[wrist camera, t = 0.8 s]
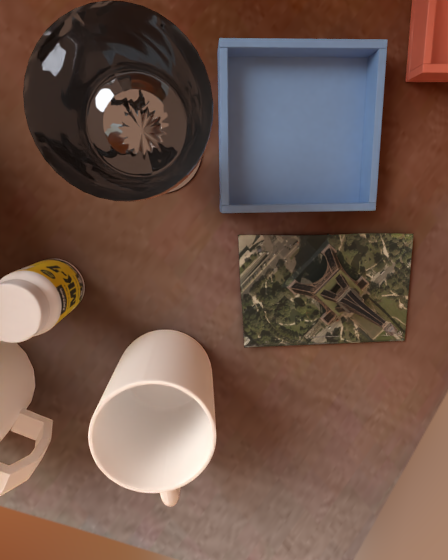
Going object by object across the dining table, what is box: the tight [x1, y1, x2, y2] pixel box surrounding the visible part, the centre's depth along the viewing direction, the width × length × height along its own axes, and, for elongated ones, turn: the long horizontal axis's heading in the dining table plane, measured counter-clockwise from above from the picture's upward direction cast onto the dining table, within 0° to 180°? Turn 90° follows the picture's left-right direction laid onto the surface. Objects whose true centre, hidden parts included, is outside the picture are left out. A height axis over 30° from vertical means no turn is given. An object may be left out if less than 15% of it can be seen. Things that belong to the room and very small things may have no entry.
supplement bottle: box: [0, 259, 85, 343], centre depth 29 cm, size 5×5×8 cm
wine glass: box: [23, 1, 213, 201], centre depth 24 cm, size 8×8×15 cm
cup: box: [88, 330, 216, 506], centre depth 31 cm, size 8×12×10 cm
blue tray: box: [218, 38, 387, 213], centre depth 30 cm, size 12×12×2 cm
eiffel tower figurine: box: [238, 233, 413, 347], centre depth 28 cm, size 15×10×13 cm
